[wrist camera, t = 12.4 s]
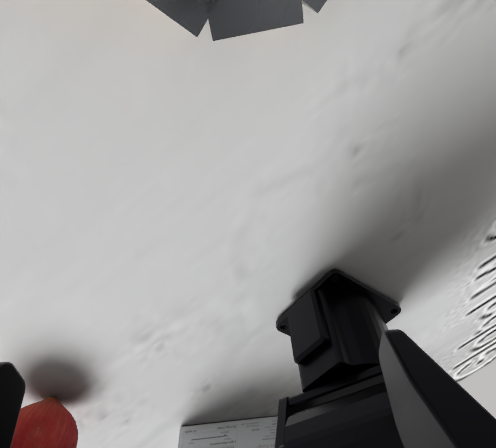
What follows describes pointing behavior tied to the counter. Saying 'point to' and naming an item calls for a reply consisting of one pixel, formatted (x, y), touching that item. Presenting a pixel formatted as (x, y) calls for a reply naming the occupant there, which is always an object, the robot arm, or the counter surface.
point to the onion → (45, 426)
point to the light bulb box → (230, 434)
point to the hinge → (235, 14)
